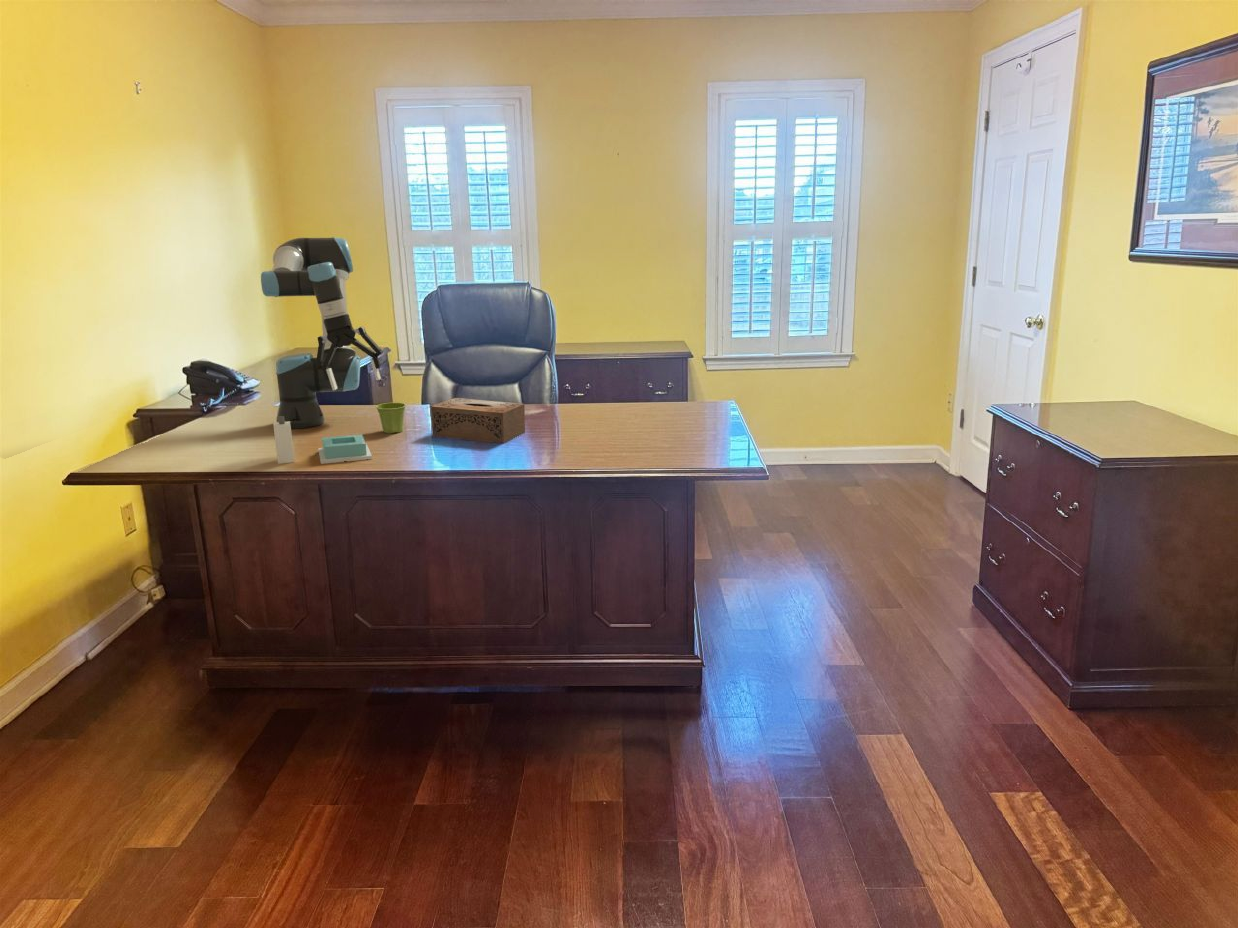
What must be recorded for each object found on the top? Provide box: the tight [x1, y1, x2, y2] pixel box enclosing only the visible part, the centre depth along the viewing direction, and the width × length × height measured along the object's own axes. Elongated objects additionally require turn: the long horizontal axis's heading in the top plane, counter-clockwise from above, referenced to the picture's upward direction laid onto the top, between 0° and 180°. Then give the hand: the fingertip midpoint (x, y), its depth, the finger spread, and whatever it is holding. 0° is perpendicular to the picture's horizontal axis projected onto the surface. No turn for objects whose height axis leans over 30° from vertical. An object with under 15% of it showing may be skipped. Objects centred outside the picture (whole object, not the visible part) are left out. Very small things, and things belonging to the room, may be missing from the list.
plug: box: [273, 416, 295, 465], centre depth 236 cm, size 4×4×13 cm
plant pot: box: [375, 402, 407, 434], centre depth 270 cm, size 9×9×9 cm
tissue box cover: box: [430, 397, 526, 444], centre depth 267 cm, size 26×14×10 cm, turn 69°
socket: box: [317, 434, 373, 465], centre depth 243 cm, size 14×14×4 cm
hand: (357, 384), depth 252 cm, fingers open, 13 cm apart
